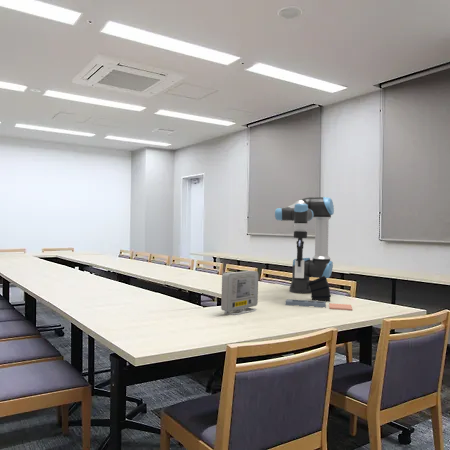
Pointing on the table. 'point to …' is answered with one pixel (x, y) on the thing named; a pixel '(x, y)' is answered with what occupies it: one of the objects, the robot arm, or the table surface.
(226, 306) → the network device
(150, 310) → the table surface
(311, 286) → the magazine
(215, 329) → the table surface
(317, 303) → the power strip
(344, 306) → the mat
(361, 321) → the table surface
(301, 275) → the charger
